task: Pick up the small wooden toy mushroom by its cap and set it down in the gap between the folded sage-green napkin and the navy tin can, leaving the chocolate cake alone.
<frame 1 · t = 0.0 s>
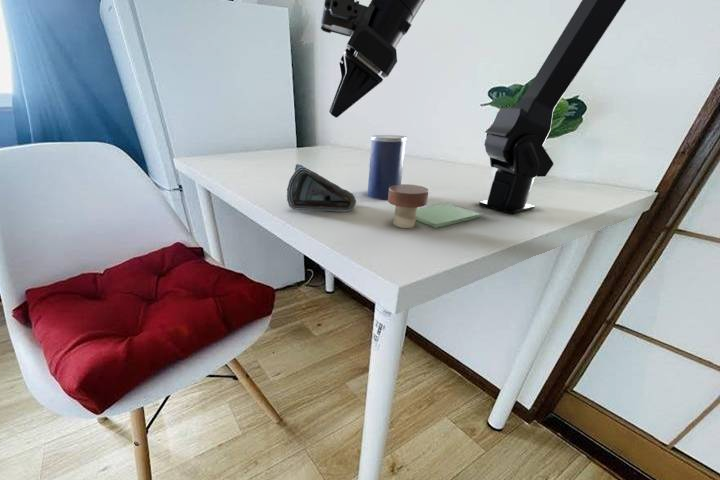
hand: (332, 114, 48), 15 cm above the table, tool tilted 35°, fingers open, 9 cm apart
mushroom: (403, 224, 47), on the table
napkin: (441, 216, 50), on the table
can: (383, 195, 62), on the table
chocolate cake: (323, 205, 56), on the table
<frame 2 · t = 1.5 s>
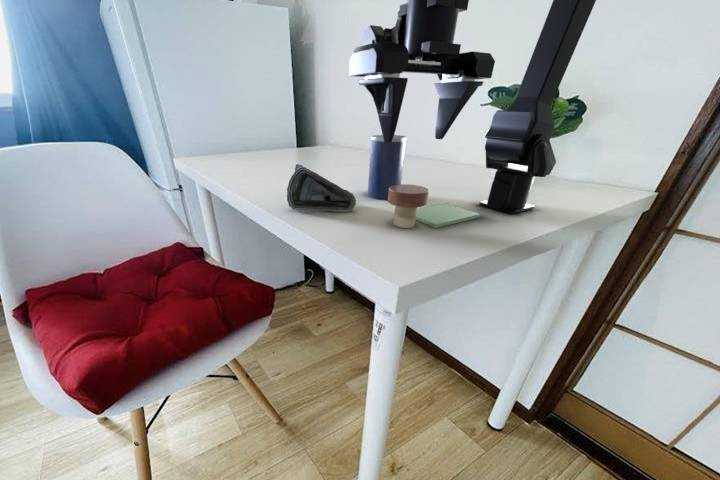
hand: (414, 140, 41), 12 cm above the table, tool pointing down, fingers open, 9 cm apart
nothing on the table moved.
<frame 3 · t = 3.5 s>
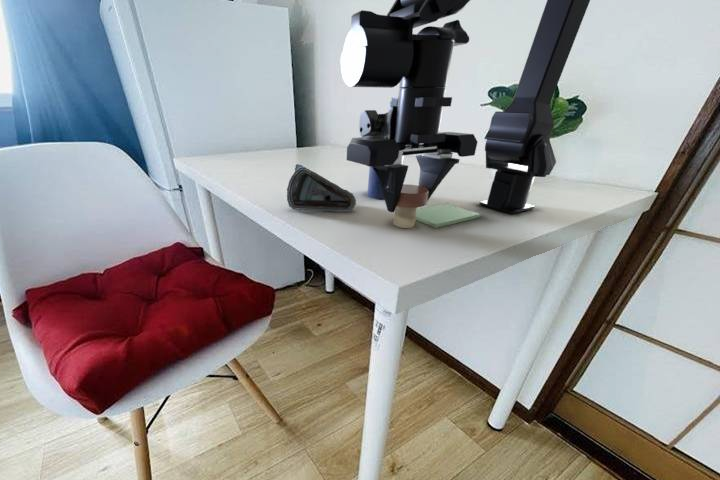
hand: (406, 208, 46), 3 cm above the table, tool pointing down, fingers closed on mushroom, 5 cm apart
mushroom: (403, 224, 47), on the table, touching gripper
everything else where it was.
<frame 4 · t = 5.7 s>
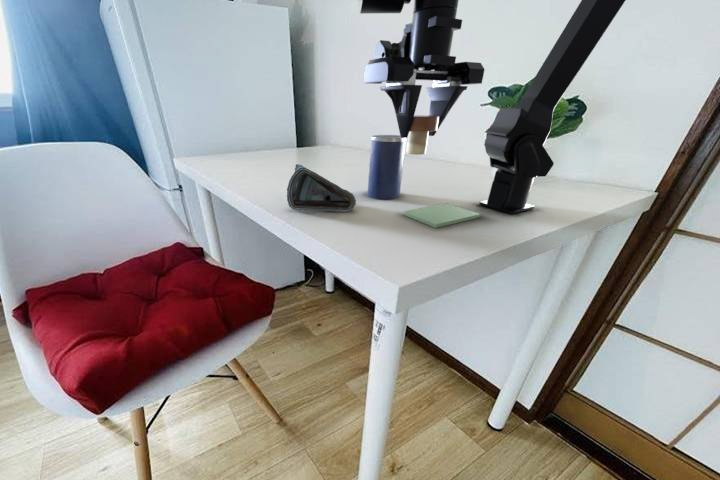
hand: (417, 136, 49), 12 cm above the table, tool pointing down, fingers closed on mushroom, 5 cm apart
mushroom: (415, 153, 50), point 9 cm above the table, touching gripper
everything else where it was.
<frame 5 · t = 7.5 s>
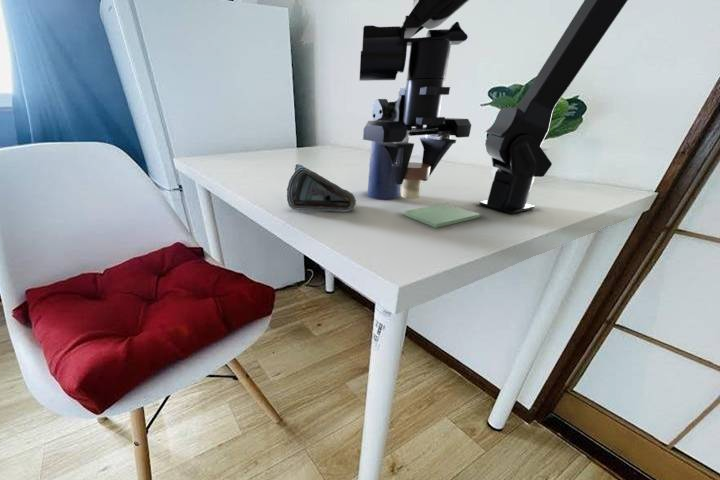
hand: (411, 182, 54), 4 cm above the table, tool pointing down, fingers closed on mushroom, 5 cm apart
mushroom: (409, 196, 56), point 1 cm above the table, touching gripper
everything else where it was.
when the fingers open (2 cm above the table, at t = 8.4 s): mushroom stays where it is, on the table.
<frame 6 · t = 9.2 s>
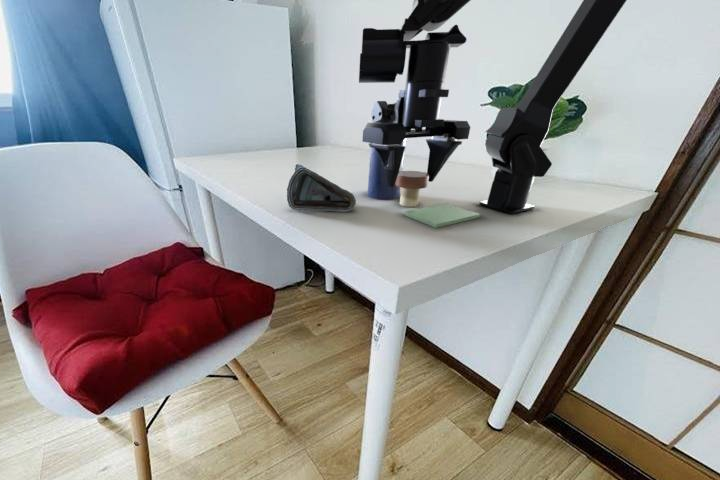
hand: (410, 184, 55), 4 cm above the table, tool pointing down, fingers open, 9 cm apart
mushroom: (408, 204, 56), on the table
everything else where it was.
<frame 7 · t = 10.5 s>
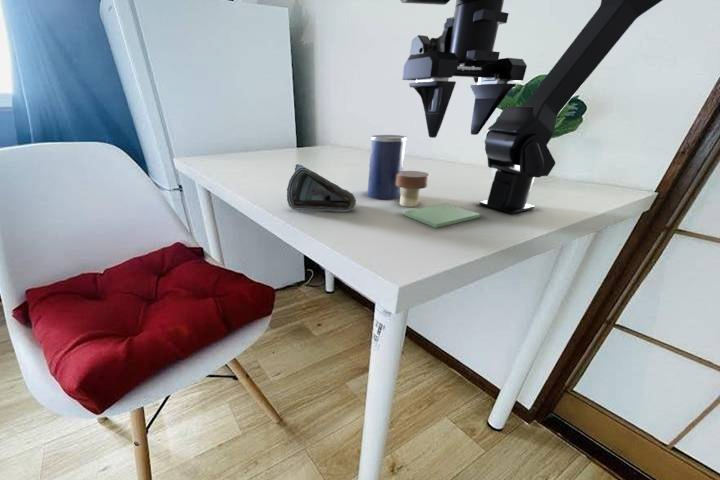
hand: (454, 135, 47), 12 cm above the table, tool pointing down, fingers open, 9 cm apart
nothing on the table moved.
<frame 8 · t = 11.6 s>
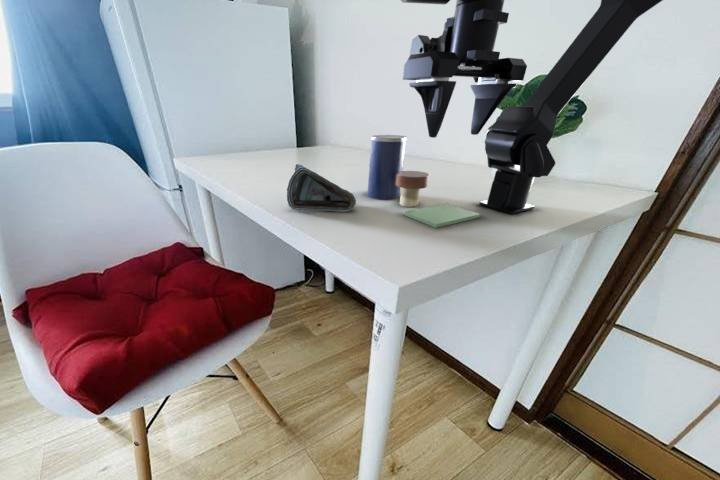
hand: (454, 135, 47), 12 cm above the table, tool pointing down, fingers open, 9 cm apart
nothing on the table moved.
at the end: mushroom 0.1 cm from the target spot, on the table; mushroom tilted 0°; can moved 0.0 cm from its start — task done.
